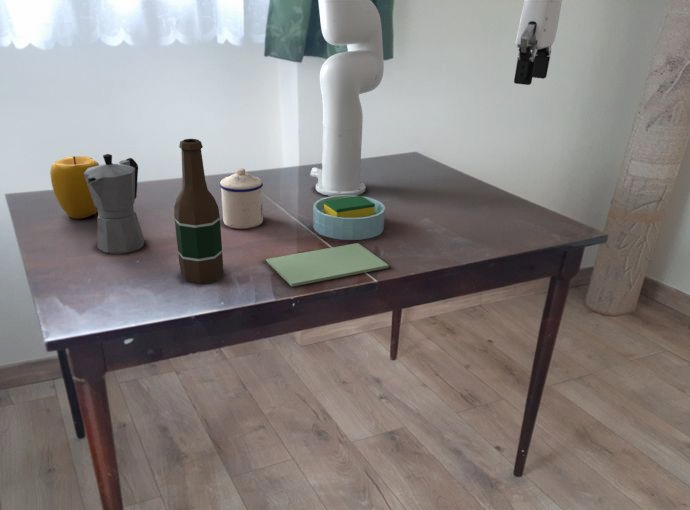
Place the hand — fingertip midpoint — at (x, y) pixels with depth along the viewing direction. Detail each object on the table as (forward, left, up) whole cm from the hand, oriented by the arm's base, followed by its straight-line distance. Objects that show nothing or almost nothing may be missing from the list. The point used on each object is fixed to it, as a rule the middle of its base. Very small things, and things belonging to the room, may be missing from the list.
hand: (530, 80), depth 123 cm
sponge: (-27, -21, -30) cm, 45 cm away
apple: (-79, -49, -30) cm, 98 cm away
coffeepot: (-59, -55, -30) cm, 86 cm away
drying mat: (-21, -39, -30) cm, 54 cm away
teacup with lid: (-49, -31, -30) cm, 66 cm away
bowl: (-27, -21, -30) cm, 46 cm away
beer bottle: (-36, -57, -30) cm, 74 cm away
